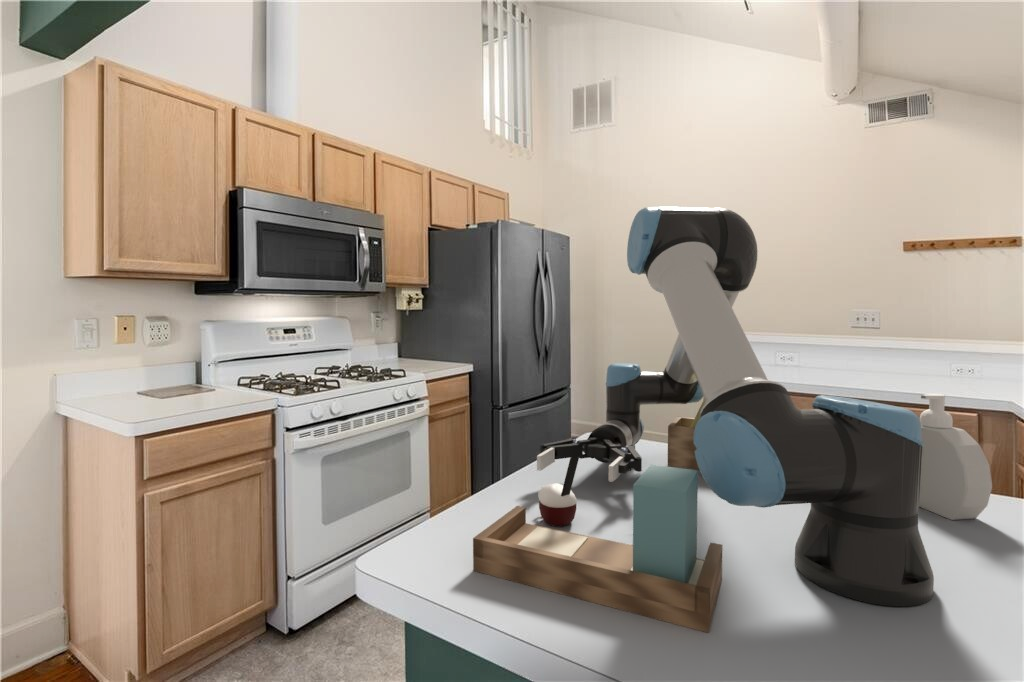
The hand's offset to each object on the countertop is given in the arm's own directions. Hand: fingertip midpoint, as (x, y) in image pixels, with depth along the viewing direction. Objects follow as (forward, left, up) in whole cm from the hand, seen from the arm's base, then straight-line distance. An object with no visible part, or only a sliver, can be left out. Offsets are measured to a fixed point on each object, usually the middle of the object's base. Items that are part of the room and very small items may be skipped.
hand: (573, 468), depth 94 cm
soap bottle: (-56, -28, -7) cm, 63 cm away
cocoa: (0, +8, -7) cm, 11 cm away
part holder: (-23, -38, -7) cm, 45 cm away
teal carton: (-20, +21, -5) cm, 29 cm away
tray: (-11, +21, -7) cm, 25 cm away
